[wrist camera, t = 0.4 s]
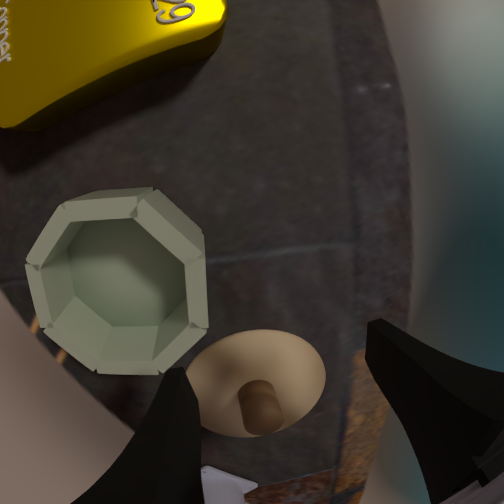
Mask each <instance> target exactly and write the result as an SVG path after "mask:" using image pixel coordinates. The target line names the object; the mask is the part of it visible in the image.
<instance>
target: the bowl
mask: <svg viewBox="0 0 504 504" xmlns="http://www.w3.org/2000/svg"><path fill="white" fill-rule="evenodd" d="M26 261H27V262H28V263H27V264H25V268H26V273H27V278H28V282H29V287H30V291H31V295H32V299H33V303H34V307H35V310H36V314H37V318H38V321H39V325H40V327H41V328H45V330H44V333H45V334H46V335H47V336H49V337H50V338H51V339H52V340H53V341H54V342H56V343H57V344H58V345H59V346H61V347H62V348H63V349H64V350H65V351H67V352H68V353H69V354H70V355H72V356H73V357H74V358H76V359H77V360H78V361H79V362H81V363H82V364H83V365H85V366H86V367H87V368H89V369H90V370H92V371H94V370H95V369H97V372H98V373H99V374H124V375H159V371H161V372H162V373H164V372H165V371H166V370H167V369H168V368H169V367H170V366H172V365H173V364H174V363H175V362H176V361H177V360H178V359H179V358H180V357H181V356H182V355H183V354H184V353H185V352H187V351H188V350H189V349H190V348H191V347H192V346H193V345H194V344H195V343H196V342H197V341H198V340H199V339H200V338H201V337H202V336H204V335H205V334H206V333H207V331H206V328H209V326H208V309H207V290H206V267H205V248H204V234H202V230H201V229H200V228H199V227H198V226H197V225H196V224H195V223H194V222H193V221H192V220H191V219H189V218H188V217H187V216H186V215H185V214H184V213H183V212H182V211H181V210H180V209H179V208H178V207H177V206H175V205H174V204H173V203H172V202H171V201H170V200H169V199H168V198H167V197H166V196H165V195H164V194H163V193H161V192H160V191H159V190H158V189H156V190H155V191H153V187H145V188H129V189H115V190H103V191H95V192H92V193H89V194H86V195H83V196H80V197H77V198H74V199H71V200H68V201H66V202H64V203H63V204H61V205H59V206H58V208H57V209H56V211H55V212H54V214H53V215H52V217H51V218H50V220H49V222H48V223H47V225H46V226H45V228H44V229H43V231H42V233H41V234H40V236H39V237H38V239H37V241H36V242H35V244H34V246H33V247H32V249H31V251H30V253H29V254H28V256H27V258H26Z"/></svg>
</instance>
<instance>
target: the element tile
mask: <svg viewBox="0 0 504 504" xmlns="http://www.w3.org/2000/svg"><path fill="white" fill-rule="evenodd" d="M227 13H228V7H227V1H226V0H0V127H1V128H4V129H11V130H21V131H30V132H34V131H41V130H44V129H46V128H49V127H50V126H52V125H54V124H55V123H57V122H59V121H61V120H62V119H64V118H66V117H68V116H70V115H71V114H73V113H75V112H77V111H79V110H81V109H83V108H85V107H87V106H89V105H91V104H93V103H95V102H97V101H99V100H101V99H103V98H105V97H107V96H109V95H111V94H114V93H116V92H118V91H120V90H123V89H125V88H127V87H130V86H132V85H134V84H137V83H139V82H142V81H144V80H147V79H149V78H152V77H154V76H157V75H160V74H162V73H165V72H168V71H171V70H174V69H176V68H179V67H182V66H185V65H189V64H192V63H195V62H198V61H201V60H203V59H205V58H207V57H208V56H210V55H211V54H212V53H214V52H215V51H216V50H217V49H218V47H219V45H220V44H221V42H222V37H223V33H224V28H225V24H226V19H227Z"/></svg>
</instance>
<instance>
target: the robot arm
mask: <svg viewBox="0 0 504 504" xmlns="http://www.w3.org/2000/svg"><path fill="white" fill-rule="evenodd" d="M365 360H366V363H367V365H368V367H369V369H370V371H371V374H372V376H373V378H374V380H375V381H376V383H377V385H378V386H379V388H380V389H381V391H382V393H383V394H384V396H385V397H386V399H387V400H388V402H389V403H390V405H391V407H392V408H393V410H394V411H395V413H396V415H397V416H398V418H399V419H400V421H401V423H402V425H403V427H404V429H405V431H406V433H407V436H408V438H409V440H410V442H411V445H412V447H413V449H414V452H415V454H416V457H417V459H418V462H419V465H420V467H421V470H422V473H423V477H424V480H425V483H426V486H427V490H428V494H429V498H430V502H431V504H504V373H503V372H498V371H493V370H489V369H485V368H482V367H478V366H475V365H472V364H468V363H466V362H463V361H461V360H458V359H456V358H453V357H450V356H448V355H446V354H444V353H442V352H440V351H438V350H436V349H434V348H432V347H430V346H428V345H426V344H424V343H422V342H421V341H419V340H417V339H415V338H414V337H412V336H410V335H409V334H407V333H405V332H404V331H402V330H400V329H399V328H397V327H396V326H394V325H392V324H391V323H389V322H387V321H386V320H384V319H382V318H380V319H377V320H374V321H371V322H368V326H367V340H366V353H365ZM257 487H258V484H257V483H255V482H252V481H249V480H246V479H243V478H240V477H237V476H234V475H232V474H229V473H226V472H223V471H221V470H218V469H216V468H213V467H211V466H204V467H202V468H201V420H200V411H199V403H198V399H197V397H196V395H195V392H194V390H193V388H192V386H191V384H190V382H189V379H188V377H187V375H186V373H185V371H184V368H183V367H179V368H172V369H167V371H166V372H165V375H164V377H163V379H162V381H161V384H160V386H159V388H158V390H157V392H156V395H155V397H154V399H153V401H152V403H151V405H150V407H149V409H148V411H147V413H146V415H145V416H144V418H143V420H142V422H141V423H140V425H139V427H138V429H137V430H136V432H135V434H134V435H133V437H132V439H131V440H130V442H129V443H128V445H127V446H126V447H125V449H124V450H123V452H122V453H121V454H120V456H119V457H118V458H117V459H116V461H115V462H114V463H113V464H112V466H111V467H110V468H109V469H108V470H107V471H106V472H105V473H104V474H103V475H102V477H100V478H99V479H98V480H97V481H96V483H95V484H94V485H92V486H91V487H90V488H89V489H88V490H87V491H86V492H85V493H83V494H82V495H81V496H80V497H78V498H77V499H76V500H75V501H73V502H72V503H71V504H245V500H244V495H243V494H245V493H247V492H249V491H251V490H253V489H255V488H257Z"/></svg>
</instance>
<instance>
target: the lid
mask: <svg viewBox="0 0 504 504" xmlns="http://www.w3.org/2000/svg"><path fill="white" fill-rule="evenodd" d="M185 373H186V375H187V377H188V379H189V382H190V384H191V386H192V388H193V390H194V392H195V395H196V397H197V399H198V403H199V411H200V420H201V425H202V426H203V427H205V428H207V429H208V430H211V431H213V432H215V433H219V434H222V435H226V436H232V437H256V436H262V435H267V434H271V433H274V432H277V431H279V430H282V429H284V428H286V427H288V426H290V425H292V424H294V423H295V422H297V421H298V420H300V419H301V418H302V417H303V416H305V415H306V414H307V413H308V412H309V411H310V410H311V409H312V408H313V406H314V405H315V404H316V403H317V401H318V399H319V398H320V396H321V394H322V391H323V388H324V385H325V377H326V376H325V368H324V364H323V362H322V359H321V357H320V356H319V354H318V353H317V351H316V350H315V349H314V348H313V347H312V346H311V345H310V344H309V343H308V342H306V341H305V340H303V339H302V338H300V337H298V336H296V335H293V334H290V333H287V332H282V331H277V330H252V331H245V332H241V333H236V334H233V335H230V336H227V337H225V338H223V339H220V340H218V341H216V342H214V343H213V344H211V345H210V346H208V347H207V348H205V349H204V350H203V351H202V352H200V353H199V354H198V355H197V356H196V357H195V358H194V359H193V361H192V362H191V364H190V365H189V366H188V368H187V370H186V372H185Z"/></svg>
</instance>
